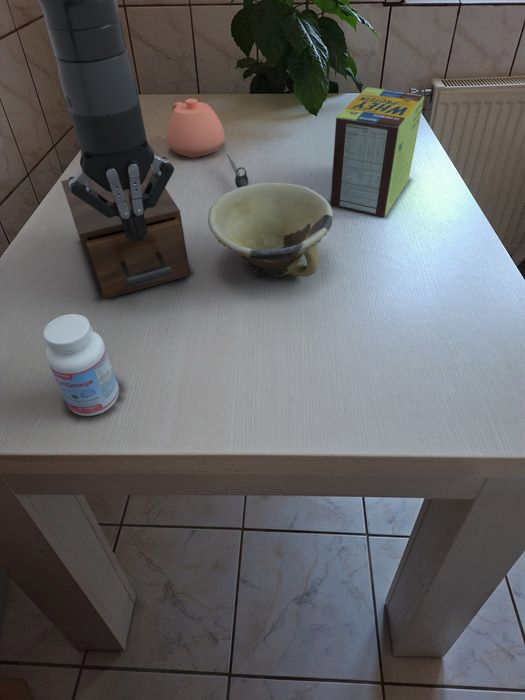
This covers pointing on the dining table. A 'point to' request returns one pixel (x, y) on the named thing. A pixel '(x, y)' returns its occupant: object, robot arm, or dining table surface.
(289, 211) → the bowl
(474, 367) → the dining table surface
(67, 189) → the cabinet
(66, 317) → the pill bottle
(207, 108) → the sugar bowl
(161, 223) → the drawer
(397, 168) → the protein box
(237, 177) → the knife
